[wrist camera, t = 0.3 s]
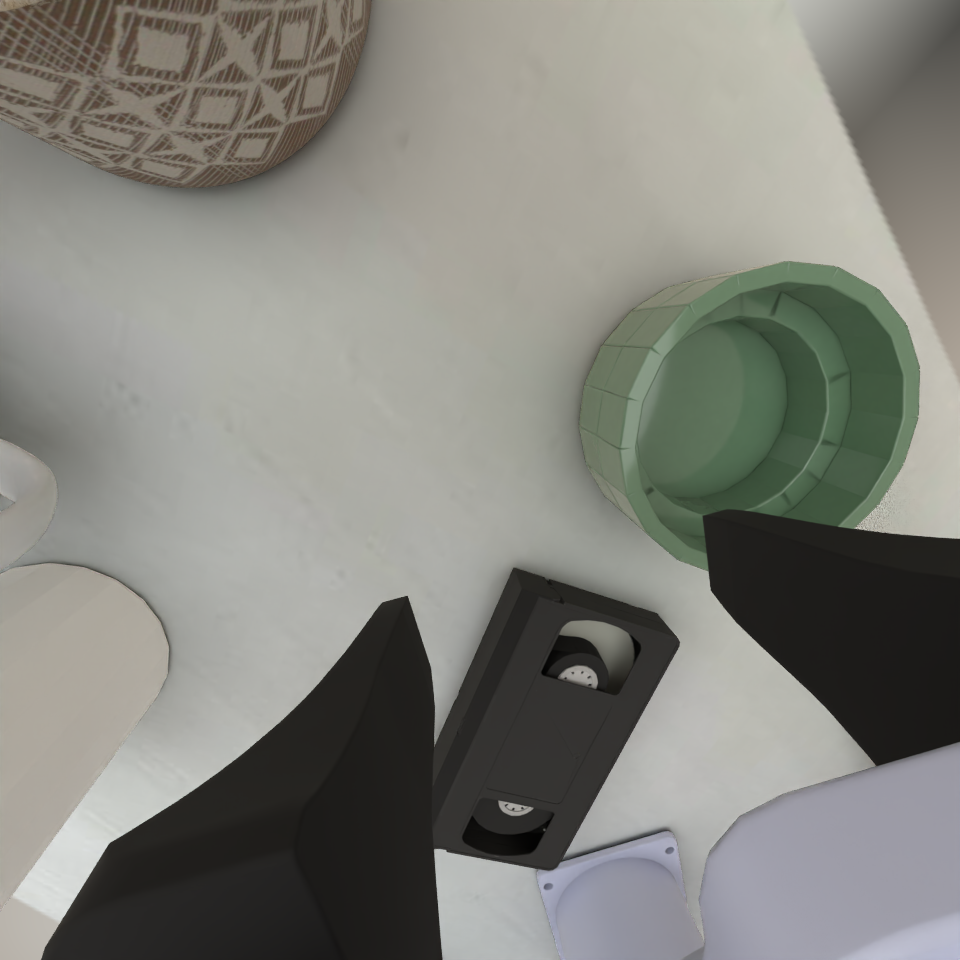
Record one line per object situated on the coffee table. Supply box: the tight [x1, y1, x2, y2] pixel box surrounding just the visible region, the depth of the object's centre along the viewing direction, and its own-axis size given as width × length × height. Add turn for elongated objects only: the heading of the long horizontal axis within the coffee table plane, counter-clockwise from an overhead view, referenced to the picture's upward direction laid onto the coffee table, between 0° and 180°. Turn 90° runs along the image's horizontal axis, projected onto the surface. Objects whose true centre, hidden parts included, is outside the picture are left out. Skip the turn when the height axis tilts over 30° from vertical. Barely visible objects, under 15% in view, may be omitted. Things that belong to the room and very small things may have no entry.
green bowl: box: [579, 261, 920, 571], centre depth 19 cm, size 10×10×5 cm
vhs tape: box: [432, 568, 680, 871], centre depth 24 cm, size 14×8×2 cm, turn 158°
